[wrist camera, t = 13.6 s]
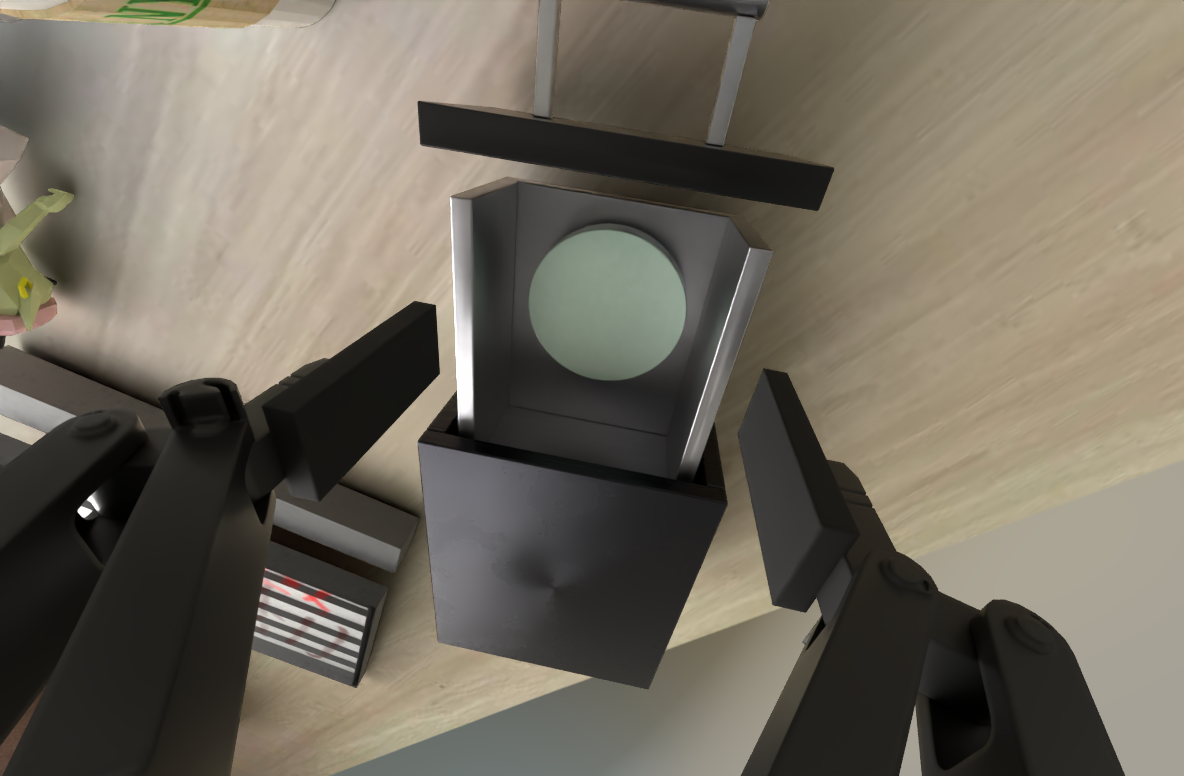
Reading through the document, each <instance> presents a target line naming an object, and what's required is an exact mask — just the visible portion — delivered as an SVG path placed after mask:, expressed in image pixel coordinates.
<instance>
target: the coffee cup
mask: <svg viewBox="0 0 1184 776" xmlns="http://www.w3.org/2000/svg"><path fill="white" fill-rule="evenodd" d="M334 2H335V0H0V13H2V14H6V15H10V16H14V17H18V18H22V19H42V20H63V21H84V22H105V23H126V24H147V25H168V26H189V27H210V28H243V27H246V26H249V25H261V26H276V27H305V26H308V25H312V24H314V23H316V22H317V21H319V20H320V19H322V18H323V17H324V16H325V15H326V14H327V13H328V11H329V10H330V9H331V8H332V6H333V4H334Z"/></svg>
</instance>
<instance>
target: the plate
mask: <svg viewBox="0 0 1184 776" xmlns="http://www.w3.org/2000/svg"><path fill="white" fill-rule="evenodd" d="M528 309H529V316H530V320H531V324H532V327H533V329H534V332H535V334H536V336H537V338H538V340H539V342H540V343H541V345H542V346H543V347H544V349H545V350H546V351H547V352H548V353H549V355H550V356H551V357H552V358H553V359H555V360H556V361H557V362H558V363H559V364H561V365H562V366H564V367H565V368H567V369H568V370H570V371H572V372H574V373H576V374H579V375H581V376H584V377H587V378H591V379H596V380H603V381H616V380H625V379H629V378H633V377H636V376H639V375H642V374H644V373H646V372H648V371H650V370H651V369H653V368H654V367H656V366H657V365H659V364H660V363H661V362H662V361H663V360H665V359H666V358H667V356H668V355H669V354H670V353H671V352H672V351H673V349H674V348H675V346H676V345H677V343H678V341H679V339H680V337H681V335H682V332H683V329H684V326H685V322H686V317H687V299H686V290H685V285H684V281H683V277H682V274H681V272H680V269H679V267H678V265H677V264H676V262H675V260H674V259H673V257H672V256H671V255H670V253H669V252H668V251H667V250H666V249H665V248H664V247H663V246H662V245H661V244H660V243H659V242H658V241H656V240H655V239H654V238H653V237H651V236H649V235H648V234H646V233H644V232H642V231H640V230H637V229H635V228H632V227H628V226H624V225H619V224H596V225H591V226H587V227H584V228H581V229H578V230H576V231H574V232H572V233H570V234H568V235H567V236H565V237H564V238H562V239H561V240H560V241H558V242H557V243H556V244H555V245H554V246H553V247H552V248H551V249H550V250H549V251H548V253H547V254H546V255H545V256H544V257H543V259H542V260H541V261H540V263H539V265H538V266H537V268H536V270H535V272H534V275H533V277H532V280H531V284H530V287H529V295H528Z"/></svg>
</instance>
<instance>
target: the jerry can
mask: <svg viewBox="0 0 1184 776" xmlns="http://www.w3.org/2000/svg"><path fill="white" fill-rule="evenodd" d="M21 19H22V18H18V17H14V16H10V15H6V14H2V13H0V21H5V22H14V21H18V20H21Z"/></svg>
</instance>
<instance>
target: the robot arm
mask: <svg viewBox="0 0 1184 776" xmlns="http://www.w3.org/2000/svg"><path fill="white" fill-rule="evenodd" d="M439 374H440V367H439V351H438V334H437V317H436V305H433V304H428V303H422V302H417V301H414V302H412V303H411V304H409V305H408V306H406V307H405V308H404V309H402V310H401V311H399V312H398V313H396V314H395V315H393V316H392V317H390V318H389V319H388V320H386V321H385V322H383V323H382V324H380V325H379V326H377V327H376V328H374V329H373V330H371V331H370V332H369V333H367V334H366V335H364V336H363V337H361V338H360V339H358V340H357V341H355V342H354V343H352V344H351V345H350V346H348V347H347V348H345V349H344V350H342V351H341V352H339V353H338V354H336V355H335V356H333V357H332V358H331V359H326V358H323V359H320V360H318V361H315V362H312V363H309V364H307V365H304V366H303V367H301V368H300V369H298V370H297V371H295V372H294V373H292V374H291V376H290V377H289V376H288V377H286V378H285V379H283V380H281V381H280V382H279V384H275V385H274V386H272V387H271V388H269V389H268V390H266V391H265V392H263V393H262V394H260V395H259V396H257V397H256V398H254V399H252V400H251V401H249V402H248V403H246V404H245V405H243V402H242V399H241V396H240V394H239V391H238V388H237V385H236V384H235V383H234V382H232V381H231V380H227V379H222V378H203V379H197V380H191V381H187V382H184V383H181V384H178V385H175V386H174V387H172V388H170V389H168V390H166V391H164V392H163V393H162V394H161V395H160V396H159V397H158V400H159V402H160V404H161V406H162V408H163V410H164V413H165V415H166V417H167V419H168V421H169V423H170V425H171V427H144V426H143V424H142V422H141V421H140V419H139V417H138V415H137V413H135V412H133V411H131V410H129V409H120V408H113V409H100V410H94V411H93V412H92V411H90V412H86V413H83V414H81V415H79V416H76V417H74V418H71V419H69V420H67V421H65V422H63V423H62V424H60V425H58V426H57V427H55V428H54V429H53V430H51V431H50V432H49V433H47V434H46V435H45V436H43V437H42V438H41V439H39V440H38V441H37V442H35V443H34V444H33V445H32V446H30V447H29V448H28V449H26V450H25V451H24V452H22V453H21V454H20V455H18V456H17V457H16V458H14V459H13V460H12V461H10V462H9V463H8V464H7V465H5V466H4V467H3V468H1V469H0V746H1V744H2V743H3V742H4V740H5V739H6V738H7V737H8V735H9V734H10V733H11V731H12V730H13V729H14V727H15V726H16V725H17V723H18V722H19V721H20V719H21V718H22V717H23V715H24V714H25V713H26V711H27V710H28V709H29V707H30V706H31V705H32V703H33V702H34V701H35V700H36V698H37V697H38V696H39V694H40V693H41V692H42V690H43V689H44V688H45V686H46V685H47V686H46V688H45V690H44V692H43V694H42V696H41V698H40V700H39V702H38V704H37V706H36V708H35V710H34V712H33V714H32V716H31V718H30V720H29V722H28V724H27V726H26V728H25V730H24V732H23V734H22V736H21V739H20V741H19V743H18V745H17V747H16V749H15V751H14V753H13V755H12V757H11V759H10V761H9V763H8V765H7V767H6V769H5V771H4V773H3V775H2V776H230V774H231V768H232V762H233V756H234V750H235V744H236V739H237V733H238V727H239V721H240V715H241V709H242V703H243V697H244V691H245V685H246V679H247V673H248V667H249V661H250V655H251V650H252V644H253V638H254V632H255V626H256V620H257V614H258V608H259V602H260V596H261V590H262V584H263V578H264V572H265V566H266V561H267V555H268V549H269V543H270V537H271V531H272V525H273V519H274V513H275V507H276V495H275V492H274V488H275V487H276V486H277V485H279V484H280V483H281V482H282V481H283V480H284V479H286V482H287V485H288V488H289V492H290V495H291V496H294V497H299V498H303V499H308V500H312V501H316V502H320V501H321V500H322V499H323V498H324V497H325V496H326V495H327V494H328V493H329V492H330V491H331V489H332V488H333V487H334V486H335V485H336V484H337V483H338V482H339V481H340V480H341V479H342V478H343V477H344V476H345V474H346V473H347V472H348V471H349V470H350V469H351V468H352V467H353V466H354V465H355V464H356V463H357V462H358V461H359V460H360V458H361V457H362V456H363V455H364V454H365V453H366V452H367V451H368V450H369V449H370V448H371V447H372V446H373V445H374V443H375V442H376V441H377V440H378V439H379V438H380V437H381V436H382V435H383V434H384V433H385V432H386V431H387V430H388V428H389V427H390V426H391V425H392V424H393V423H394V422H395V421H396V420H397V419H398V418H399V417H400V416H401V415H402V414H403V412H404V411H405V410H406V409H407V408H408V407H409V406H410V405H411V404H412V403H413V402H414V401H415V400H416V399H417V397H418V396H419V395H420V394H421V393H422V392H423V391H424V390H425V389H426V388H427V387H428V386H429V385H430V384H431V383H432V381H433V380H434V379H435V378H436V377H437V376H438V375H439ZM738 439H739V443H740V448H741V453H742V458H743V463H744V468H745V473H746V478H747V482H748V487H749V492H750V497H751V502H752V507H753V512H754V517H755V521H756V526H757V531H758V536H759V541H760V546H761V551H762V556H763V560H764V565H765V570H766V575H767V580H768V585H769V590H770V595H771V599H772V604H773V605H774V606H779V607H783V608H788V609H792V610H797V611H801V612H807V610H808V609H809V608H810V606H811V605H812V603H813V602H814V600H815V599H816V597H817V600H818V603H819V607H820V610H821V613H822V616H821V617H820V618H819V620H818V621H817V623H816V624H815V625H814V627H813V628H812V629H811V631H810V632H809V633H808V635H807V636H806V637H805V639H804V640H803V643H804V644H805V646H804V648H803V650H802V652H801V654H800V656H799V658H798V661H797V662H796V664H795V666H794V668H793V671H792V673H791V675H790V677H789V679H788V681H787V683H786V685H785V687H784V689H783V691H782V693H781V695H780V697H779V699H778V701H777V703H776V705H775V707H774V710H773V711H772V713H771V715H770V717H769V719H768V721H767V724H766V725H765V728H764V730H763V732H762V734H761V736H760V738H759V740H758V742H757V744H756V746H755V748H754V750H753V752H752V754H751V756H750V758H749V760H748V762H747V764H746V766H745V768H744V770H743V772H742V774H741V776H899V773H900V768H901V764H902V760H903V755H904V751H905V747H906V742H907V738H908V733H909V729H910V724H911V720H912V716H913V711H914V707H915V706H916V716H917V727H918V738H919V748H920V760H921V769H922V770H921V771H922V776H1125V774H1124V772H1123V770H1122V767H1121V765H1120V762H1119V760H1118V758H1117V755H1116V753H1115V751H1114V748H1113V746H1112V743H1111V741H1110V739H1109V736H1108V734H1107V732H1106V729H1105V727H1104V724H1103V722H1102V719H1101V717H1100V715H1099V712H1098V710H1097V708H1096V705H1095V703H1094V700H1093V698H1092V696H1091V693H1090V691H1089V688H1088V686H1087V684H1086V681H1085V679H1084V677H1083V674H1082V672H1081V669H1080V667H1079V665H1078V663H1077V660H1076V657H1075V655H1074V653H1073V651H1072V650H1071V648H1070V646H1069V645H1068V643H1067V642H1066V640H1065V639H1064V638H1063V637H1062V636H1061V635H1060V634H1059V633H1058V632H1057V631H1056V630H1055V629H1054V628H1053V627H1052V626H1051V625H1050V624H1049V623H1048V622H1046V621H1045V620H1044V619H1042V618H1041V617H1040V616H1038V615H1037V614H1036V613H1034V612H1032V611H1030V610H1028V609H1026V608H1025V607H1023V606H1021V605H1019V604H1016V603H1013V602H1010V601H1007V600H992V601H991V602H989V603H988V604H987V605H986V606H985V607H984V608H982V610H978V609H976V608H974V607H971V606H969V605H967V604H964V603H963V602H961V601H958V600H956V599H954V598H952V597H950V596H947V595H945V594H943V593H941V592H939V591H938V588H937V586H936V584H935V583H934V581H933V579H932V577H931V576H930V575H929V574H928V573H927V572H926V571H925V570H924V569H923V568H922V567H921V566H920V565H919V564H917V563H916V562H915V561H913V560H912V559H910V558H909V557H908V556H905V555H903V554H901V553H899V552H897V551H896V549H895V548H894V546H893V544H892V542H891V540H890V538H889V536H888V534H887V532H886V530H885V528H884V526H883V524H882V523H881V521H880V519H879V517H878V515H877V513H876V511H875V509H874V508H872V506H873V505H872V503H871V501H870V499H869V498H868V496H866V492H865V490H864V488H863V486H862V484H861V482H860V480H859V478H858V477H857V476H856V475H855V474H854V473H853V472H852V471H851V470H850V469H849V468H848V467H847V466H846V465H845V464H844V463H841V462H836V461H831V460H827V459H826V457H825V455H824V453H823V451H822V448H821V446H820V444H819V442H818V440H817V437H816V435H815V433H814V431H813V429H812V426H811V424H810V422H809V420H808V418H807V415H806V413H805V411H804V409H803V407H802V404H801V402H800V400H799V398H798V396H797V393H796V391H795V389H794V387H793V385H792V382H791V380H790V378H789V376H788V374H787V373H785V372H780V371H775V370H770V369H765V368H764V369H763V371H762V374H761V376H760V379H759V381H758V384H757V386H756V389H755V391H754V394H753V396H752V399H751V401H750V404H749V407H748V409H747V412H746V414H745V417H744V419H743V422H742V424H741V427H740V429H739V432H738ZM88 498H89V500H90V501H91V503H92V504H93V506H94V507H95V509H94V510H93V511H92V512H91V513H90V514H89V515H87V516H86V517H85V518H83V517H82V516H81V515H80V514H79V513H78V510H79V508H80V507H81V505H82V504H83V503H84V502H85V501H86V500H87V499H88Z"/></svg>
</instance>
